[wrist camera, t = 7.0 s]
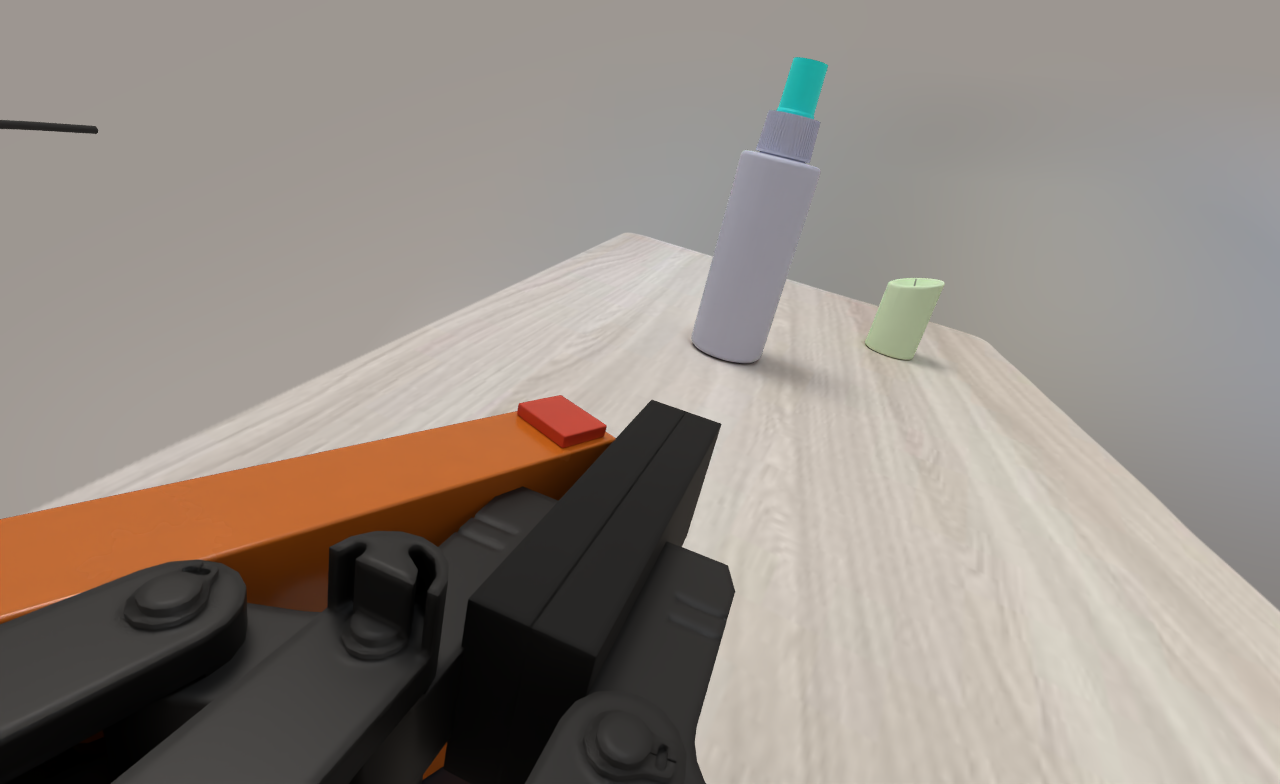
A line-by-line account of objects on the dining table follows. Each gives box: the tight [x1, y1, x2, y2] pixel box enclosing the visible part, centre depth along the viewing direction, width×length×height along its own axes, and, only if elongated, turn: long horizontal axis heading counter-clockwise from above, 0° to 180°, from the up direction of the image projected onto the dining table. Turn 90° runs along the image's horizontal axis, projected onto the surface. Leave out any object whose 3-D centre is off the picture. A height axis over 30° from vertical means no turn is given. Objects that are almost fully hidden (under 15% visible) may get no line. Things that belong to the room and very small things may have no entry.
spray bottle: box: [692, 57, 828, 363], centre depth 47 cm, size 6×6×22 cm
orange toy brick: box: [0, 395, 616, 780], centre depth 9 cm, size 10×2×7 cm, turn 137°
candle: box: [865, 278, 945, 360], centre depth 63 cm, size 5×5×8 cm
